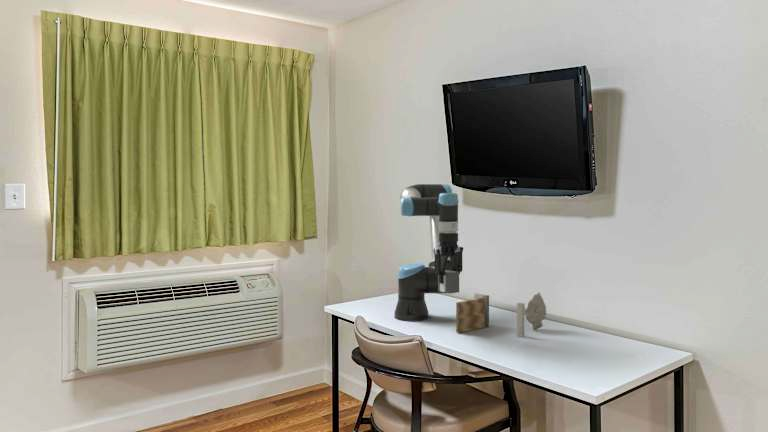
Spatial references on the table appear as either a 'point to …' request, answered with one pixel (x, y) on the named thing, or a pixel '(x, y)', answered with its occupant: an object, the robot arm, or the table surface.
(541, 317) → the stone tool
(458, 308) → the door
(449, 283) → the block
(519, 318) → the door frame
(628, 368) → the table surface
